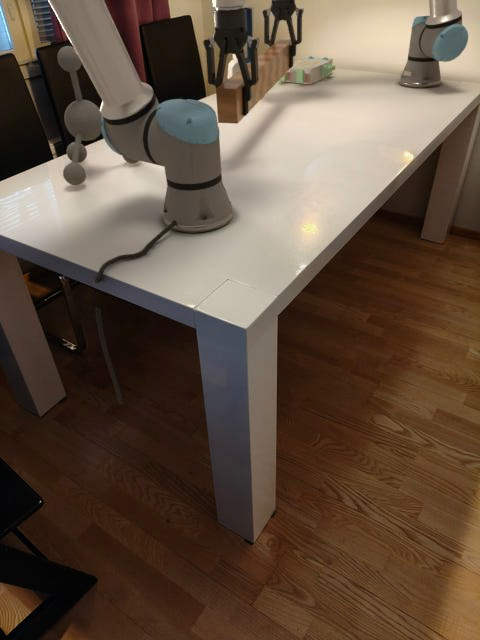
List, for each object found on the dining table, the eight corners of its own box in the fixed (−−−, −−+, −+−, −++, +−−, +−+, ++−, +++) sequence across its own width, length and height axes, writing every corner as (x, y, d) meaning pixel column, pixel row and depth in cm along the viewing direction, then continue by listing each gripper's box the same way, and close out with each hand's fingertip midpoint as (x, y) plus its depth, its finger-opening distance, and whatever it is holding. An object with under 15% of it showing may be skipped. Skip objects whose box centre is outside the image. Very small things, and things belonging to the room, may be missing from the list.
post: (237, 123, 121) (235, 88, 116) (218, 122, 123) (215, 88, 118) (293, 65, 174) (293, 39, 169) (279, 65, 175) (279, 39, 170)
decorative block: (301, 54, 217) (341, 57, 207) (300, 70, 221) (340, 74, 211) (269, 65, 201) (312, 69, 191) (269, 82, 205) (311, 87, 195)
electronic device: (231, 100, 184) (226, 7, 166) (227, 96, 190) (221, 5, 172) (263, 96, 187) (261, 4, 168) (257, 92, 192) (255, 2, 174)
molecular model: (153, 175, 128) (132, 46, 109) (67, 191, 122) (30, 58, 104) (135, 149, 145) (114, 34, 127) (59, 162, 140) (26, 43, 121)
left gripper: (271, 5, 113) (272, 110, 127) (198, 7, 117) (206, 108, 131) (263, 9, 107) (265, 119, 121) (186, 10, 112) (197, 116, 126)
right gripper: (313, -16, 156) (310, 64, 170) (258, -14, 161) (260, 64, 175) (309, -14, 150) (306, 69, 165) (252, -12, 155) (254, 69, 169)
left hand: (234, 113), depth 126 cm, fingers closed on post, 5 cm apart
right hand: (282, 66), depth 170 cm, fingers closed on post, 5 cm apart
